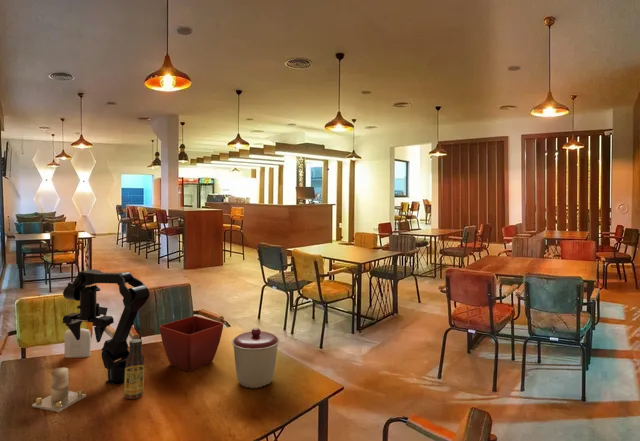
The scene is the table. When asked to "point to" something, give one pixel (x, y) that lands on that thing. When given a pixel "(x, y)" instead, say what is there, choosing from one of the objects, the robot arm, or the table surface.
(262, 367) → the canister
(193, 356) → the plant pot
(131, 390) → the sauce bottle
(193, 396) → the table surface
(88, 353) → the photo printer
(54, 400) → the maple peg
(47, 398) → the base plate
